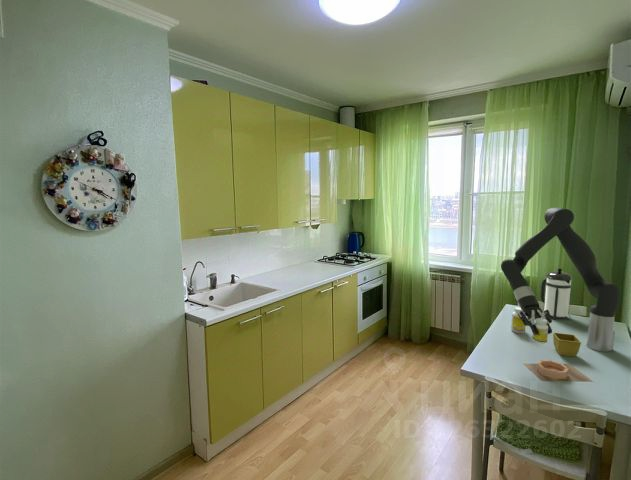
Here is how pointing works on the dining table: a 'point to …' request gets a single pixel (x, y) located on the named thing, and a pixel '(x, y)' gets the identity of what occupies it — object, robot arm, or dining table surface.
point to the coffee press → (557, 293)
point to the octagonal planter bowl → (552, 369)
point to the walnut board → (572, 376)
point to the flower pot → (566, 344)
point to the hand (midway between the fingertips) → (543, 333)
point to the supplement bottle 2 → (541, 331)
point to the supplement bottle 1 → (517, 321)
